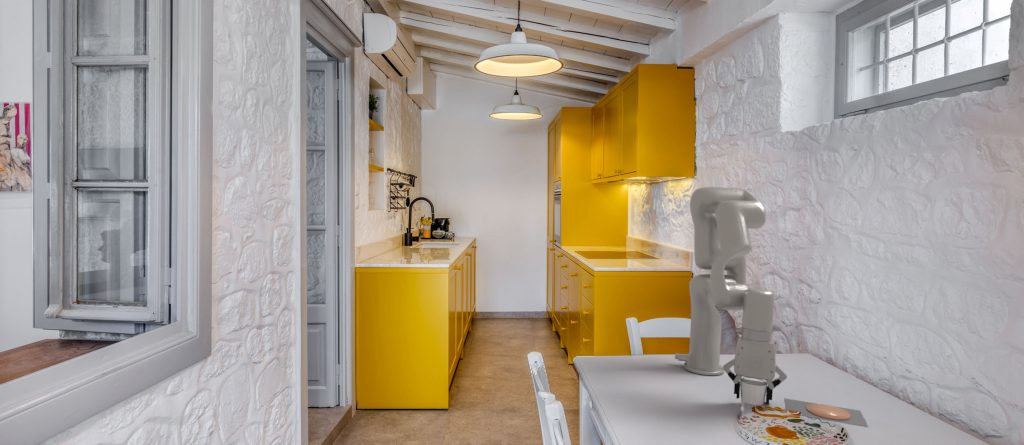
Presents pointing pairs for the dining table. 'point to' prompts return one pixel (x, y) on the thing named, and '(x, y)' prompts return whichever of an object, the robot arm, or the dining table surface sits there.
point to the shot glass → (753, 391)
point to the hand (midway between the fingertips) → (752, 399)
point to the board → (802, 407)
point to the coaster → (828, 412)
